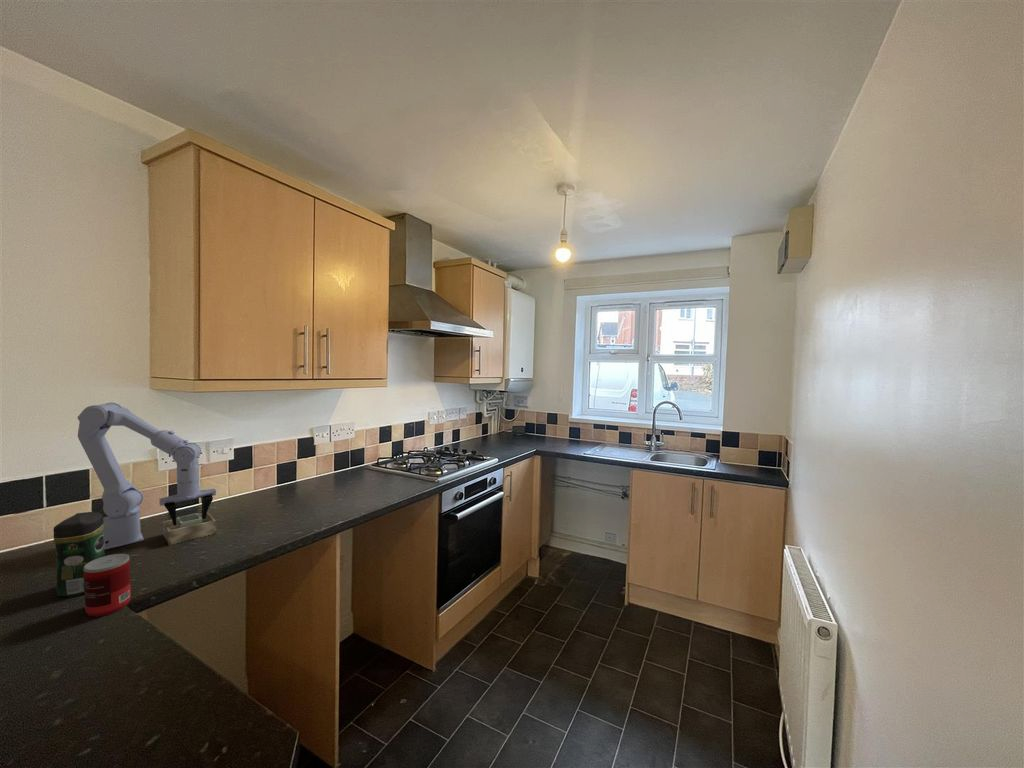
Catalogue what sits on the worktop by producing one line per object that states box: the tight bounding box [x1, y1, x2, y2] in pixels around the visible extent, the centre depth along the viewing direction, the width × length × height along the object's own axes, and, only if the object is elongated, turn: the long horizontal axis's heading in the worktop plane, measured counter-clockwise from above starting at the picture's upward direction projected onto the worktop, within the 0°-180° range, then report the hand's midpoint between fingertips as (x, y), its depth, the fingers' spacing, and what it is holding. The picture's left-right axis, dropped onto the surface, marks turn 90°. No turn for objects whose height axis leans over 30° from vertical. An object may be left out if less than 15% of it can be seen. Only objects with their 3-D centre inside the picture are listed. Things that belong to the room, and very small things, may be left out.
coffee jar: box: [53, 511, 106, 597], centre depth 103 cm, size 10×8×19 cm
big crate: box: [162, 511, 217, 546], centre depth 136 cm, size 12×11×4 cm
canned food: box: [83, 553, 132, 617], centre depth 96 cm, size 8×8×11 cm
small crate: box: [176, 512, 202, 529], centre depth 136 cm, size 5×7×5 cm
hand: (189, 521), depth 136 cm, fingers open, 7 cm apart
